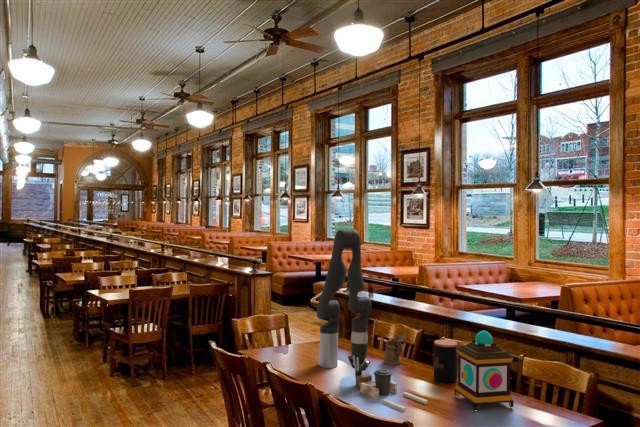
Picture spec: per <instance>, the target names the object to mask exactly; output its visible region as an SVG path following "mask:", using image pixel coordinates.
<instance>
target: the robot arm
mask: <svg viewBox="0 0 640 427" xmlns="http://www.w3.org/2000/svg"><path fill="white" fill-rule="evenodd" d="M347 249H348V250H351V254H352V255H351V256H352V257H351V261H350V264H349V267H348V269H347V268H346V265H345V263H344V261H343V251H344V250H347ZM361 249H362V248H361V237H360V233H359V232H358V231H357V229H338V230H337V231H336V233H335V235H334V240H333V245H332V251H331V258H330V261H329V266H328V269H327V272H326V273H327V274H326V277H325V281H324V285H323V289H322V292H321V295H320V298H319V300H318V302H317V307H316V315H317V317H318V318H319V319H321V320H327V321H326V323H324V324H322V325H320V328H319V345H318V365H319V366H320V367H321V368H325V369H333V368H337V367H338V358H339V356H338V355H339V350H338V349H339V348H338V347H339V328H340V316H341V314H340V311H341V309H340V304H339V301H338V300H336V299H335V300H334V299H333V300H331V299H332V298H333V297H334V296H335V294H336V293H337V292H338V291H339V290H340V289H341V288H342V287H343V285H344V284H345V280H346V277H347V283H348V288H349V293H348V304H347V305H348V309H349V310H350V312H351V313H353V314H358V316H355V317H354V318H353V317H352V320H351V335H350V351H351V354H350V355H348V356H347V358H348V360H349V363H350V365H351V367H352V369H354V371H355V373H354V375H355V378H356V376H360V375H363V371H366V369H367V368H368V367H369V365H370V364H371V361H370V360H368V359H367V352H368V341H369V340H368V338H369V337H368V336H369V335H368V322H369V319H370V314H371V312H372V306H373V305H372V304H373V303H372V300H371V299H370V297H368V296H358V295H359V293H362V292H363V291H364V290H365V282H364V277H363V271H362V253H361V251H362V250H361Z"/></svg>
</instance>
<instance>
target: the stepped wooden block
mask: <svg viewBox="0 0 640 427" xmlns="http://www.w3.org/2000/svg"><path fill="white" fill-rule="evenodd" d="M359 390H360V393H362V394H364V395H366V396H368V397H371V398H373V399H375V400H378V399H380V396H379V389H378V388H375V387H373V386H370V385H368V384H365V383H361V386H360V388H359ZM390 392H391V393H393V394H398V383H396V382H393V381H391V380H390V388H389V393H390Z"/></svg>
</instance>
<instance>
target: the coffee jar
mask: <svg viewBox="0 0 640 427" xmlns="http://www.w3.org/2000/svg"><path fill="white" fill-rule="evenodd" d="M433 342H434V347H433V379H434V381H436V382H437V383H440V384H445V385H446V384H447V385H451V384H455V383H456V381H458V353H457V351H456V348H458V342H457V341H455V340H451V339H436V340H434V341H433Z"/></svg>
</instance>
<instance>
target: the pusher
mask: <svg viewBox="0 0 640 427" xmlns="http://www.w3.org/2000/svg"><path fill="white" fill-rule="evenodd" d="M372 378H373V375H372V374H370V373H365V374H362V375H360V376H356V377H355V387H356V388H358V389H360V386H361V383H365V384H368V385H370V386H373V387H375V388H376V385H375V380H373V379H372Z"/></svg>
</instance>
